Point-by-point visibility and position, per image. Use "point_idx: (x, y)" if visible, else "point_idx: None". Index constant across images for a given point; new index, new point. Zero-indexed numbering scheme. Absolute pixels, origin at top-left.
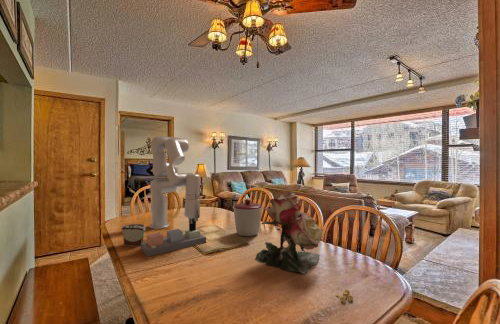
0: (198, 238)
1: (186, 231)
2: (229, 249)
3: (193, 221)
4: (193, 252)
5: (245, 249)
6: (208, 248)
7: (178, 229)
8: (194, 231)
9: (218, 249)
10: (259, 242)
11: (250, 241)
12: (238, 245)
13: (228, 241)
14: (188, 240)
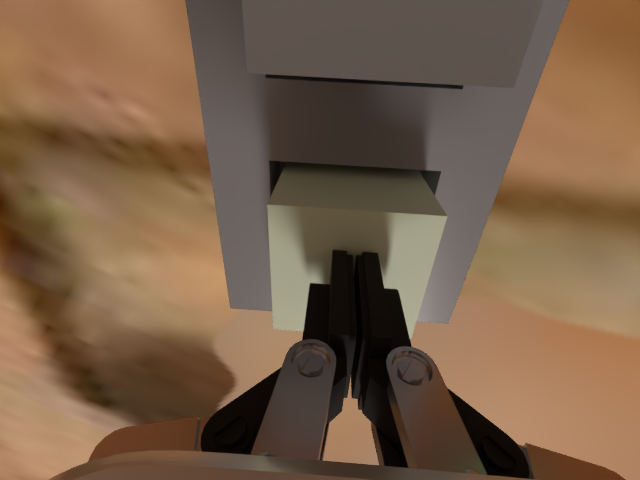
0: (228, 242)
1: (390, 209)
2: (29, 305)
3: (236, 406)
4: (37, 59)
5: (4, 357)
6: (100, 221)
7: (461, 72)
8: (290, 277)
9: (51, 260)
10: (93, 435)
11: (126, 424)
12: (86, 367)
13: (183, 370)
14: (221, 124)
